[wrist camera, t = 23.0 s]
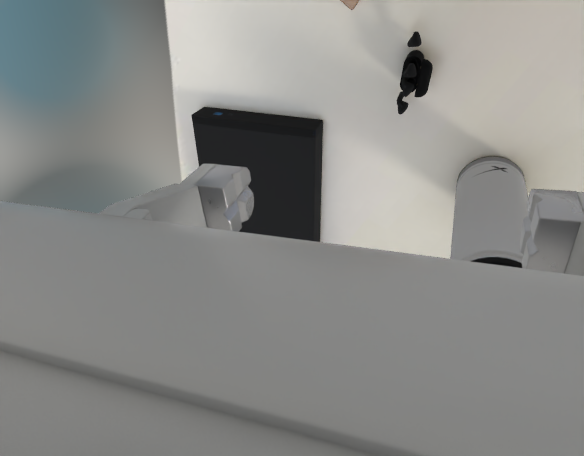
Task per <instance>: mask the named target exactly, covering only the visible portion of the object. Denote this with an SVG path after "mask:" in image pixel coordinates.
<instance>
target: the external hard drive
mask: <svg viewBox="0 0 584 456" xmlns="http://www.w3.org/2000/svg"><path fill="white" fill-rule="evenodd" d="M192 121H193V127H194V134H195V141H196V148H197V155H198V161H199V167H200V166H201V165H202V164H218V165H228V166H238V167H247V168H248V170H249V171H250V176H251V182H250V184H249V185H248V187H249V188H250V190H251V191H252V192H253V195H254V208H253V212H252V215H251V216H250V218H249V219H248V220H247V221H244V222H242V223H241V224H242V228H241V229H240V231H239V232H245V233H253V234H261V235H269V236H276V237H284V238H292V239H300V240H308V241H315V242H320V210H321V172H322V133H323V120H318V119H309V118H300V117H291V116H282V115H273V114H264V113H255V112H246V111H237V110H228V109H219V108H210V107H203V108H202V109H200V110H199V111H197V112H196V113H194V114H193V115H192Z"/></svg>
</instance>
